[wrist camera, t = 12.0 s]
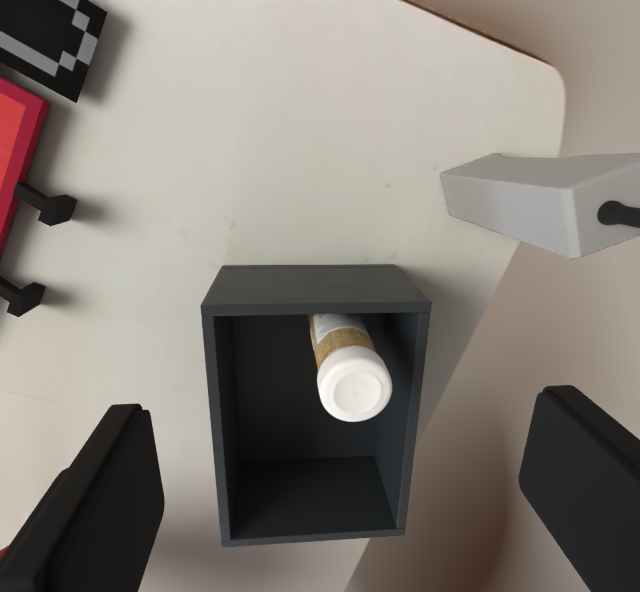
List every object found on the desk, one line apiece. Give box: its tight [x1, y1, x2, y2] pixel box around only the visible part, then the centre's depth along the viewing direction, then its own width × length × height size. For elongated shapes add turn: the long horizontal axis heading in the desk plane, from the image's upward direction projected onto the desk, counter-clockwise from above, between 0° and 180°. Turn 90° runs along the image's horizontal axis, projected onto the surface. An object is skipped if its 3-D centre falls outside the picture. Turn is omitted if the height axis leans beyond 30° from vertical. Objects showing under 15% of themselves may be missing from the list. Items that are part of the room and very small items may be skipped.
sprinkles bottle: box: [307, 313, 392, 422], centre depth 31 cm, size 5×5×14 cm
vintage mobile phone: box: [440, 153, 640, 259], centre depth 23 cm, size 4×5×25 cm
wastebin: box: [201, 265, 431, 547], centre depth 35 cm, size 22×16×10 cm
